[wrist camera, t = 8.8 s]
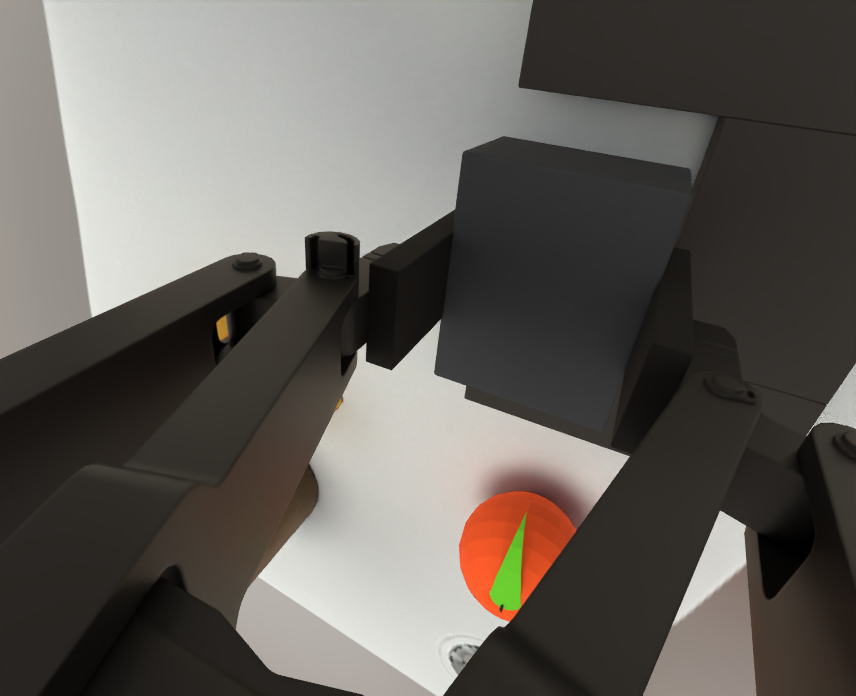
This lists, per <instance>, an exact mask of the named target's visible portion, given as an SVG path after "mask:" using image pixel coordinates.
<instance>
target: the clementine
mask: <svg viewBox="0 0 856 696" xmlns="http://www.w3.org/2000/svg"><path fill="white" fill-rule="evenodd" d="M575 532H576V529H575V527H574V526H573V524H572V522H571V521H570V519H569V518H568V517H567V516H566V514H565V513H564V512H563V511H562V510H561V509H560V508H559V507H558V506H557V505H556V504H554V503H553V502H551V501H550V500H548V499H547V498H544V497H542V496H540V495H537V494H534V493H530V492H526V491H511V492H506V493H501V494H497V495H495V496H493V497H491V498H489V499H488V500H486V501H485V502H483V503H482V504H480V505H479V506H478V507H477V508H476V510H475V511H474V512H473V513H472V515H471V516H470V517H469V519H468V520H467V522H466V524H465V527H464V530H463V534H462V537H461V541H460V544H459V551H460V567H461V570H462V573H463V576H464V579H465V581H466V584H467V586H468V589H469V590H470V592H471V593H472V594H473V596H474V597H475V598H476V599H477V600H478V602H479V603H480V604H481V605H482V606H483V607H484V608H485V609H486V610H488V611H489V612H490V613H492V614H493V615H495V616H497V617H499V618H501V619H503V620H506V621H509V622H510V621H511V620H512V619H513V617H514V616H515V615H516V613H517V612H518V611H519V609H520V608H521V607H522V605H523V604H524V602H525V601H526V600H527V598H528V597H529V595H530V594H531V593H532V591H533V590H534V589H535V587H536V586H537V584H538V583H539V582H540V580H541V579H542V578H543V576H544V575H545V573H546V572H547V571H548V569H549V568H550V566H551V565H552V564H553V562H554V561H555V560H556V558H557V557H558V555H559V554H560V553H561V551H562V550H563V549H564V547H565V546H566V544H567V543H568V542H569V540H570V539H571V537H572V536H573V535H574V533H575Z"/></svg>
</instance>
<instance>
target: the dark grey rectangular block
mask: <svg viewBox="0 0 856 696" xmlns="http://www.w3.org/2000/svg"><path fill="white" fill-rule="evenodd" d="M691 200H692V184H691V170H690V169H688V168H682V167H677V166H671V165H665V164H660V163H654V162H648V161H642V160H637V159H631V158H625V157H620V156H614V155H608V154H602V153H597V152H591V151H585V150H580V149H574V148H568V147H562V146H557V145H551V144H545V143H540V142H534V141H528V140H522V139H517V138H511V137H505V136H504V137H500V138H498V139H495V140H493V141H490V142H487V143H485V144H482V145H480V146H477V147H474V148H472V149H469V150H466V151H464V152H463V154H462V162H461V170H460V177H459V185H458V193H457V201H456V208H455V216H454V224H453V236H452V243H451V251H450V259H449V266H448V274H447V282H446V290H445V297H444V305H443V313H442V318H441V324H440V332H439V340H438V348H437V355H436V363H435V371H434V373H435V375H437V376H440V377H443V378H446V379H449V380H452V381H455V382H458V383H461V384H463V385H466V386H469V387H472V388H475V389H478V390H481V391H484V392H487V393H490V394H493V395H495V396H498V397H501V398H504V399H507V400H510V401H513V402H516V403H519V404H522V405H524V406H527V407H530V408H533V409H536V410H539V411H542V412H545V413H548V414H551V415H554V416H556V417H559V418H562V419H565V420H568V421H571V422H574V423H577V424H580V425H583V426H586V427H588V428H591V429H594V430H597V431H603V430H604V428H605V425H606V423H607V420H608V417H609V415H610V412H611V410H612V407H613V404H614V402H615V399H616V396H617V394H618V391H619V389H620V386H621V383H622V381H623V378H624V373H625V371H626V368H627V365H628V363H629V360H630V357H631V355H632V352H633V350H634V347H635V344H636V342H637V339H638V336H639V334H640V331H641V329H642V326H643V323H644V321H645V318H646V316H647V313H648V310H649V308H650V305H651V302H652V300H653V297H654V295H655V292H656V289H657V287H658V284H659V283H660V281H661V279H662V276H663V274H664V271H665V268H666V266H667V263H668V261H669V258H670V255H671V253H672V250H673V248H674V245H675V242H676V240H677V237H678V234H679V232H680V229H681V227H682V224H683V221H684V219H685V216H686V214H687V211H688V208H689V206H690V203H691Z"/></svg>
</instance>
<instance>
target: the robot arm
mask: <svg viewBox="0 0 856 696" xmlns="http://www.w3.org/2000/svg"><path fill="white" fill-rule="evenodd" d="M454 216H455V210H454V211H452V212H451V213H449V214H447V215H446V216H444V217H443V218H441V219H439V220H438V221H436V222H435V223H433V224H431V225H430V226H428V227H427V228H425V229H424V230H422V231H420V232H419V233H417V234H416V235H414V236H412V237H411V238H409V239H408V240H406V241H404V242H403V243H401V244H397V243H392V244H387V245H383V246H379V247H378V248H376V249H374V250H373V251H371V252H370V253H368V254H366V255H364V256H363V258H360V241H359V240H358V239H357V238H356V237H354V236H352V235H350V234H345V233H341V232H318V233H314V234H310V235H308V236H306V237H305V255H306V270H305V271H304V272H303V273H302V274H301V276H300V277H299V278H290V277H282V276H276V264H275V261H274V260H273V259H272V258H270V257H267V256H265V255H260V254H257V253H242V254H238V255H233V256H230V257H226V258H224V259H222V260H220V261H217V262H215V263H213V264H211V265H208V266H206V267H204V268H202V269H200V270H197V271H195V272H193V273H191V274H188V275H186V276H184V277H182V278H180V279H177V280H175V281H173V282H171V283H168V284H166V285H164V286H162V287H160V288H157V289H155V290H153V291H151V292H148V293H146V294H144V295H142V296H140V297H137V298H135V299H133V300H131V301H128V302H126V303H124V304H122V305H120V306H117V307H115V308H113V309H111V310H108V311H106V312H104V313H102V314H100V315H97V316H95V317H93V318H91V319H88V320H86V321H84V322H82V323H80V324H77V325H75V326H73V327H71V328H69V329H66V330H64V331H62V332H59V333H57V334H55V335H53V336H51V337H48V338H46V339H44V340H42V341H39V342H37V343H35V344H33V345H31V346H29V347H26V348H24V349H22V350H19V351H17V352H15V353H13V354H11V355H8V356H6V357H4V358H2V359H0V696H363V695H362V694H357V693H353V692H349V691H344V690H340V689H336V688H332V687H328V686H324V685H319V684H315V683H311V682H307V681H302V680H298V679H294V678H290V677H285V676H281V675H278V674H275V673H274V672H271V670H269V669H268V668H267V667H266V666H265V665H264V664H263V662H262V661H261V660H260V659H259V657H258V656H257V655H256V654H255V653H254V651H253V650H252V649H251V648H250V647H249V645H248V644H247V643H246V642H245V641H244V640H243V638H242V637H241V636H240V635H239V634H238V633H237V631H236V630H235V629H236V624H237V618H238V612H239V609H240V606H241V602H242V600H243V597H244V595H245V593H246V591H247V588H248V587H249V584H250V582H251V580H252V578H253V576H254V574H255V572H256V570H257V568H258V566H259V564H260V562H261V560H262V558H263V556H264V554H265V552H266V550H267V548H268V546H269V544H270V542H271V540H272V538H273V535H274V533H275V531H276V529H277V527H278V525H279V523H280V521H281V519H282V517H283V515H284V513H285V511H286V509H287V507H288V505H289V503H290V501H291V499H292V497H293V495H294V493H295V491H296V489H297V486H298V484H299V482H300V480H301V478H302V476H303V474H304V472H305V470H306V468H307V466H308V464H309V462H310V460H311V458H312V456H313V454H314V452H315V450H316V448H317V446H318V444H319V442H320V440H321V437H322V435H323V433H324V431H325V429H326V427H327V425H328V423H329V421H330V419H331V417H332V415H333V413H334V411H335V409H336V407H337V405H338V403H339V401H340V399H341V397H342V395H343V393H344V391H345V388H346V386H347V384H348V382H349V380H350V378H351V376H352V374H353V372H354V370H355V368H356V365H357V350H358V349H360V348H361V347H362V346H363V345H364V344H365V343H366V342H367V344H366V362H369V363H372V364H375V365H378V366H381V367H384V368H386V369H389V370H392V369H393V368H394V367H395V366H396V365H397V364H398V363H399V362H400V361H401V360H402V359H403V358H404V357H405V356H406V355H407V354H408V353H409V352H410V351H411V350H412V349H413V348H414V346H415V345H416V344H417V343H418V342H419V341H420V340H421V339H422V338H423V337H424V336H425V335H426V334H427V333H428V332H429V331H430V330H431V329H432V328H433V327H434V326H435V325H436V324H437V322H438V321H439V320H440V319H441V318H442V313H443V305H444V297H445V290H446V282H447V274H448V266H449V259H450V251H451V243H452V236H453V224H454ZM224 316H226V322H227V330H228V337H226V338H225V339H223V340H220V339H219V336H218V330H217V322H218V321H219V320H220V319H221V318H222V317H224ZM737 351H738V348H737V342H736V339H735V338H734V337H733V336H732V335H731V334H730V333H729V332H728V330H727V329H726V328H724V327H720V326H716V325H713V324H709V323H705V322H701V321H697V320H693V308H692V279H691V251H689V250H685V249H680V248H676V247H674V248H673V250H672V253H671V255H670V258H669V261H668V263H667V266H666V268H665V271H664V274H663V276H662V279H661V281H660V283H659V284H658V287H657V289H656V292H655V295H654V297H653V300H652V302H651V305H650V308H649V310H648V313H647V316H646V318H645V321H644V323H643V326H642V329H641V331H640V334H639V336H638V339H637V342H636V344H635V347H634V350H633V352H632V355H631V357H630V360H629V363H628V365H627V368H626V371H625V373H624V378H623V383H622V388H621V394H620V399H619V404H618V409H617V414H616V419H615V425H614V430H613V435H612V440H611V445H610V447H612V448H615V449H618V450H621V451H623V452H626V453H629V454H632V455H631V456H630V457H629V459H628V460H627V462H626V463H625V464H624V466H623V467H622V468H621V470H620V471H619V473H618V474H617V475H616V477H615V478H614V480H613V481H612V482H611V484H610V485H609V486H608V488H607V489H606V491H605V492H604V493H603V495H602V496H601V497H600V499H599V500H598V502H597V503H596V504H595V506H594V507H593V509H592V510H591V511H590V513H589V514H588V515H587V517H586V518H585V520H584V521H583V522H582V524H581V525H580V526H579V528H578V529H577V531H576V532H575V533H574V535H573V536H572V537H571V539H570V540H569V542H568V543H567V544H566V546H565V547H564V549H563V550H562V551H561V553H560V554H559V555H558V557H557V558H556V560H555V561H554V562H553V564H552V565H551V566H550V568H549V569H548V571H547V572H546V573H545V575H544V576H543V578H542V579H541V580H540V582H539V583H538V584H537V586H536V587H535V589H534V590H533V591H532V593H531V594H530V595H529V597H528V598H527V600H526V601H525V602H524V604H523V605H522V607H521V608H520V609H519V611H518V612H517V613H516V615H515V616H514V617H513V619H512V620H511V621H510V622H509V624H507V625H506V626H505V627H500V626H499V627H497V628H496V629H495V630H494V631H493V632H492V633H491V634H490V635H489V636H488V637H487V638H486V640H485V641H484V642H483V643H482V645H481V646H480V647H479V648H478V650H477V651H476V652H475V654H474V655H473V656H472V658H471V659H470V660H469V662H468V663H467V664H466V666H465V667H464V668H463V670H462V671H461V672H460V674H459V675H458V676H457V678H456V679H455V680H454V682H453V683H452V684H451V686H450V687H449V688H448V690H447V691H446V692H445V694H444V695H443V696H643V693H644V691H645V689H646V686H647V684H648V681H649V679H650V677H651V674H652V672H653V670H654V667H655V665H656V662H657V660H658V657H659V655H660V653H661V650H662V648H663V646H664V643H665V641H666V638H667V636H668V634H669V631H670V629H671V626H672V624H673V622H674V619H675V617H676V614H677V612H678V610H679V607H680V605H681V602H682V600H683V598H684V595H685V593H686V591H687V588H688V586H689V583H690V581H691V579H692V576H693V574H694V571H695V569H696V567H697V564H698V562H699V559H700V557H701V555H702V552H703V550H704V547H705V545H706V543H707V540H708V538H709V535H710V533H711V531H712V528H713V526H714V523H715V521H716V519H717V516H718V514H719V511H720V510H721V511H722V512H724V513H726V514H727V515H729V516H731V517H733V518H734V519H736V520H738V521H739V522H741V523H743V524H744V525H746V529H745V533H744V534H745V547H746V560H747V574H748V587H749V600H750V614H751V627H752V640H753V652H754V666H755V680H756V693H757V696H856V429H854V428H852V427H849V426H844V425H840V424H836V423H820V424H818V425H816V426H814V427H813V428H812V430H811V431H810V433H809V434H808V436H805V435H803V434H801V433H799V432H797V431H794V430H792V429H790V428H788V427H786V426H784V425H782V424H780V423H778V422H776V421H774V420H772V419H771V418H769V417H768V416H766V415H765V414H763V413H762V412H761V411H762V409H763V406H764V402H763V397H762V396H761V395H760V393H759V392H758V391H757V390H756V389H755V388H753V387H752V386H751V385H749V384H748V383H747V382H745V381H744V379H743V374H742V369H741V364H740V361H739V359H740V358H739V353H738V352H737Z"/></svg>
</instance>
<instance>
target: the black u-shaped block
mask: <svg viewBox="0 0 856 696" xmlns="http://www.w3.org/2000/svg"><path fill="white" fill-rule="evenodd" d="M518 86H519V88H526V89H533V90H540V91H547V92H554V93H561V94H568V95H575V96H583V97H590V98H597V99H604V100H611V101H618V102H625V103H632V104H639V105H646V106H653V107H660V108H667V109H674V110H681V111H688V112H695V113H702V114H709V115H717V116H720V117H719V120H718V122H717V125H716V127H715V130H714V133H713V135H712V138H711V141H710V143H709V146H708V149H707V151H706V154H705V156H704V159H703V162H702V164H701V167H700V170H699V172H698V175H697V178H696V180H695V183H694V185H693V188H692V200H691V203H690V206H689V208H688V211H687V214H686V216H685V219H684V221H683V224H682V227H681V229H680V232H679V234H678V237H677V240H676V242H675V245H674V247H676V248H680V249H685V250H689V251H691V279H692V308H693V320H697V321H701V322H705V323H709V324H713V325H716V326H720V327H724V328H726V329H727V330H728V332H729V333H730V334H731V335H732V336H733V337H734V338H735V339H736V342H737V348H738V351H737V352H738V353H739V358H740V359H739V361H740V364H741V369H742V374H743V379H744V381H745V382H747V383H748V384H749V385H751V386H752V387H753V388H755V389H756V390H757V391H758V392H759V393H760V395H761V396H762V397H763V402H764V406H763V409H762V411H761V412H762V413H763V414H765V415H766V416H768V417H769V418H771V419H772V420H774V421H776V422H778V423H780V424H782V425H784V426H786V427H788V428H790V429H792V430H794V431H797V432H799V433H801V434H803V435H805V436H806V435H807V433H808V432H809V430H810V429H811V428H812V426H813V425H814V423H815V422H816V420H817V419H818V417H819V416H820V414H821V413H822V411H823V410H824V408H825V407H826V404H828V403H829V401H830V400H831V398H832V397H833V395H834V394H835V393H836V391H837V390H838V388H839V387H840V385H841V384H842V382H843V381H844V379H845V378H846V376H847V375H848V373H849V372H850V371H851V369H852V368H853V366H854V365H855V363H856V0H533V4H532V10H531V15H530V21H529V27H528V33H527V39H526V44H525V50H524V56H523V62H522V67H521V73H520V79H519V85H518ZM622 383H623V381H622ZM622 383H621V386H620V389H619V391H618V394H617V396H616V399H615V402H614V404H613V407H612V410H611V412H610V415H609V417H608V420H607V423H606V425H605V428H604V430H603V431H597V430H594V429H591V428H588V427H586V426H583V425H580V424H577V423H574V422H571V421H568V420H565V419H562V418H559V417H556V416H554V415H551V414H548V413H545V412H542V411H539V410H536V409H533V408H530V407H527V406H524V405H522V404H519V403H516V402H513V401H510V400H507V399H504V398H501V397H498V396H495V395H493V394H490V393H487V392H484V391H481V390H478V389H475V388H472V387H469V386H466V392H465V399H468V400H471V401H474V402H477V403H479V404H482V405H485V406H488V407H491V408H494V409H497V410H499V411H502V412H505V413H508V414H511V415H514V416H516V417H519V418H522V419H525V420H528V421H531V422H534V423H536V424H539V425H542V426H545V427H548V428H551V429H554V430H556V431H559V432H562V433H565V434H568V435H571V436H574V437H576V438H579V439H582V440H585V441H588V442H591V443H594V444H596V445H599V446H602V447H605V448H608V449H611V450H614V451H616V452H619V453H622V454H625V455H628V456H631V455H632V454H629V453H626V452H623V451H621V450H618V449H615V448H612V447H610V445H611V440H612V435H613V430H614V425H615V419H616V414H617V409H618V404H619V399H620V394H621V388H622Z"/></svg>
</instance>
